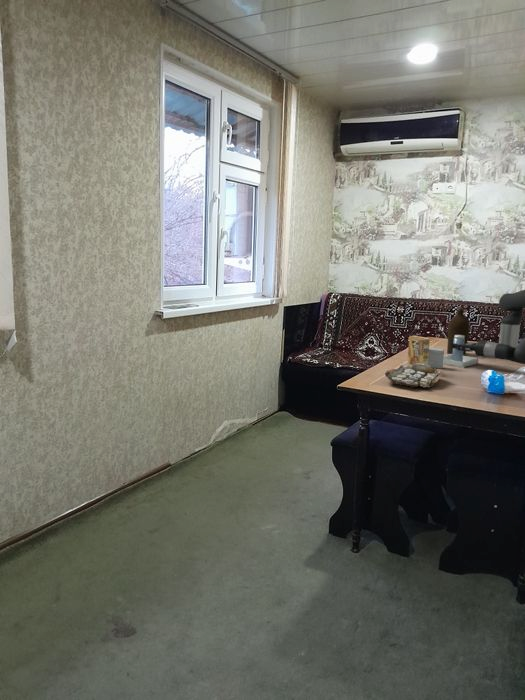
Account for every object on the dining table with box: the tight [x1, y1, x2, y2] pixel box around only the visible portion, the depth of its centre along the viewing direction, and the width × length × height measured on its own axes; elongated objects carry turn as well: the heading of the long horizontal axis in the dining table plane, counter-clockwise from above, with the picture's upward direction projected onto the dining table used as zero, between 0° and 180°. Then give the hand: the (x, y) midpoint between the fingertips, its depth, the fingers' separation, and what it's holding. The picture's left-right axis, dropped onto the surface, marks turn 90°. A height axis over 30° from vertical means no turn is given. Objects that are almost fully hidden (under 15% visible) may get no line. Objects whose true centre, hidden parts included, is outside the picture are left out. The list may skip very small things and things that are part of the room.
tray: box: [443, 354, 479, 368], centre depth 259 cm, size 16×14×2 cm
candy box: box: [406, 335, 431, 366], centre depth 240 cm, size 9×4×15 cm, turn 33°
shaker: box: [452, 335, 465, 362], centre depth 258 cm, size 5×5×13 cm
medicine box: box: [428, 347, 445, 369], centre depth 248 cm, size 8×4×9 cm, turn 65°
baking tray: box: [384, 363, 445, 389], centre depth 219 cm, size 30×22×5 cm
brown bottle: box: [446, 306, 471, 356], centre depth 281 cm, size 11×11×25 cm
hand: (454, 344), depth 259 cm, fingers open, 8 cm apart
